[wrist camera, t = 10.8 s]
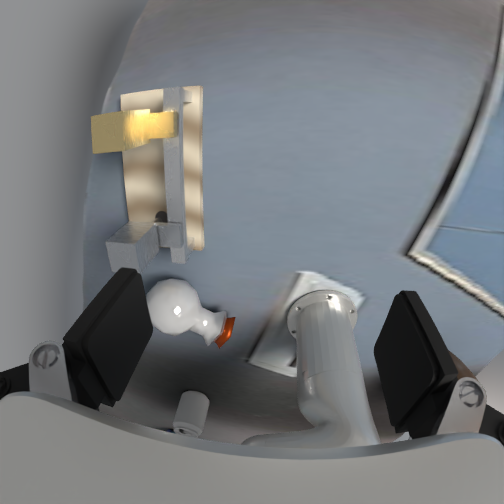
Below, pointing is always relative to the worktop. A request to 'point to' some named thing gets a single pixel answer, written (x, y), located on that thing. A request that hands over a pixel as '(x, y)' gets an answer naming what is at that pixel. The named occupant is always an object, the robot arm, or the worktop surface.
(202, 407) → the can
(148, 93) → the hole plate
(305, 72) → the worktop surface
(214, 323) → the potion bottle
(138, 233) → the trammel frame
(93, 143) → the block
